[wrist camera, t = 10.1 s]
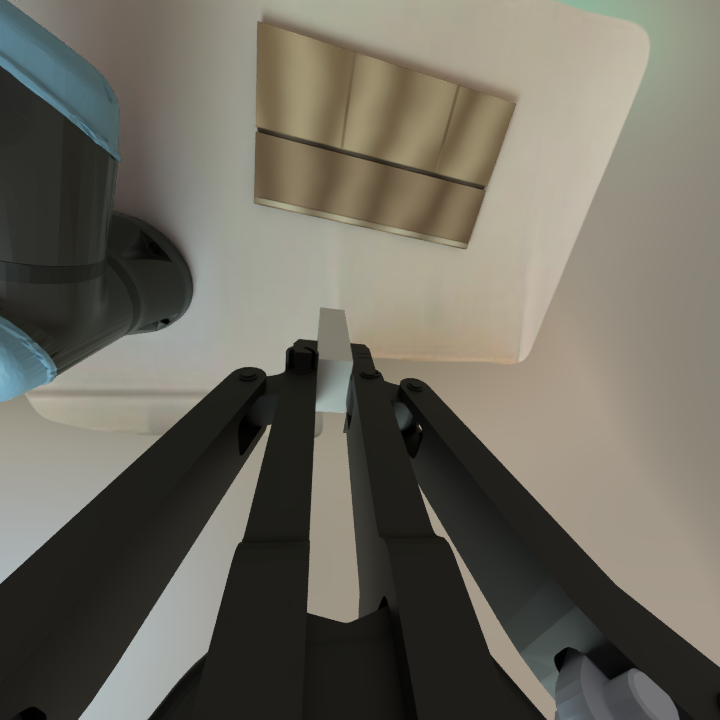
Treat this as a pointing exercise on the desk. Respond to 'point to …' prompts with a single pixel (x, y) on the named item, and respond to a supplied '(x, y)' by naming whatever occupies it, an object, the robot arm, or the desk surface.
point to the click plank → (363, 192)
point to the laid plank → (375, 109)
